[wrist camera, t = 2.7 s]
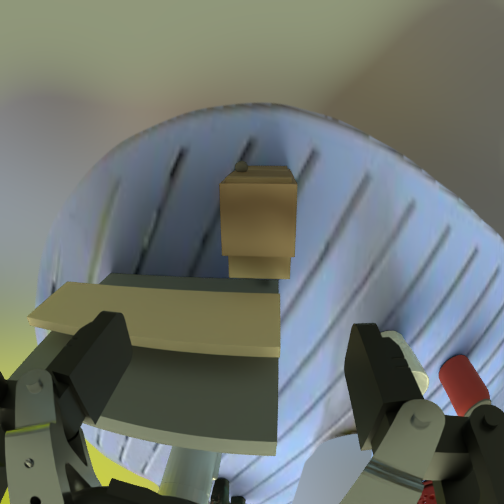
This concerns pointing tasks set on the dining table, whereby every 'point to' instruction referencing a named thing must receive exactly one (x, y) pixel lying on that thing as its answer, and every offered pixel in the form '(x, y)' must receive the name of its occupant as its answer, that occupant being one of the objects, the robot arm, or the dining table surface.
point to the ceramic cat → (223, 493)
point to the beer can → (463, 385)
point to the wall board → (181, 357)
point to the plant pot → (427, 494)
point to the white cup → (410, 360)
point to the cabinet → (258, 221)
